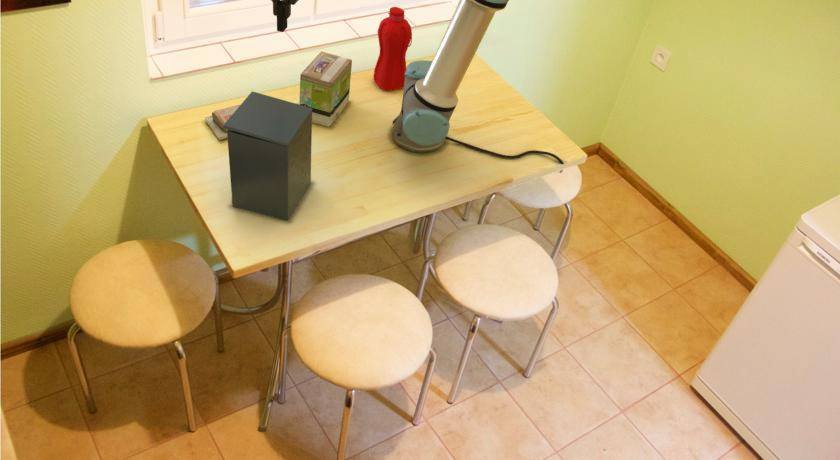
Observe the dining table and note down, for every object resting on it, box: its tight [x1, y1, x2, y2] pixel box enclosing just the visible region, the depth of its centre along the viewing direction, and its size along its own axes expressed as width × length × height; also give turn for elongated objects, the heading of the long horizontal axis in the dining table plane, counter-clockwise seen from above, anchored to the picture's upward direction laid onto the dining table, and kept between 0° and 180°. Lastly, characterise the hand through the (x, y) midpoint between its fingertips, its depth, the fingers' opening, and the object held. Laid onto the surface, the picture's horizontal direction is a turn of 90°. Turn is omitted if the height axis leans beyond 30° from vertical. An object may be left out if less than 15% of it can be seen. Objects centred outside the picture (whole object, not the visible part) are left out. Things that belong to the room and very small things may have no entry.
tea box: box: [298, 51, 353, 127], centre depth 207 cm, size 15×10×15 cm
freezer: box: [226, 112, 313, 222], centre depth 174 cm, size 14×15×22 cm
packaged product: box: [204, 104, 241, 141], centre depth 201 cm, size 18×5×10 cm
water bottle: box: [373, 6, 413, 92], centre depth 219 cm, size 9×11×25 cm
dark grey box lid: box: [223, 90, 312, 146], centre depth 166 cm, size 15×15×1 cm
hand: (282, 28), depth 170 cm, fingers closed
